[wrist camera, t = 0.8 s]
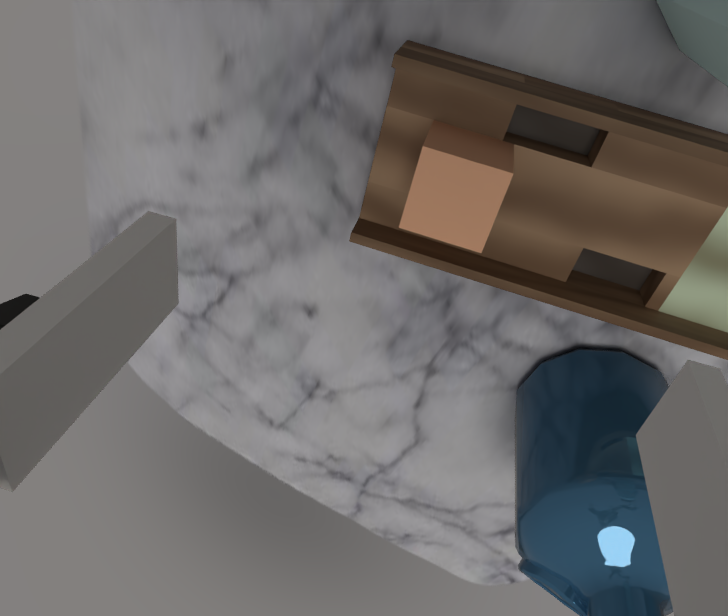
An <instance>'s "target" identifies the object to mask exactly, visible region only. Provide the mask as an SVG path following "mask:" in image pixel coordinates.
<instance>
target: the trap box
mask: <svg viewBox="0 0 728 616" xmlns="http://www.w3.org/2000/svg"><path fill="white" fill-rule="evenodd" d="M392 67H393V68H396V71H395V75H394V79H393V83H392V87H391V91H390V95H389V99H388V103H387V107H386V111H385V115H384V119H383V123H382V127H381V131H380V135H379V140H378V144H377V148H376V152H375V156H374V160H373V164H372V168H371V172H370V176H369V180H368V184H367V188H366V192H365V196H364V200H363V204H362V208H361V213H360V217H359V219H358V221H357V223H356V225H355V227H354V229H353V230H352V232H351V236H350V240H349V241H350V242H353V243H357V244H360V245H363V246H366V247H369V248H372V249H376V250H379V251H382V252H385V253H388V254H392V255H395V256H398V257H401V258H404V259H407V260H411V261H414V262H417V263H420V264H423V265H427V266H430V267H433V268H436V269H439V270H443V271H446V272H449V273H452V274H455V275H458V276H462V277H465V278H468V279H471V280H474V281H478V282H481V283H484V284H487V285H490V286H494V287H497V288H500V289H503V290H506V291H509V292H513V293H516V294H519V295H522V296H525V297H529V298H532V299H535V300H538V301H541V302H545V303H548V304H551V305H554V306H557V307H560V308H564V309H567V310H570V311H573V312H576V313H580V314H583V315H586V316H589V317H592V318H595V319H599V320H602V321H605V322H608V323H611V324H615V325H618V326H621V327H624V328H627V329H631V330H634V331H637V332H640V333H643V334H646V335H650V336H653V337H656V338H659V339H662V340H666V341H669V342H672V343H675V344H678V345H682V346H685V347H688V348H691V349H694V350H697V351H701V352H704V353H707V354H710V355H713V356H717V357H720V358H723V359H726V360H728V134H725V133H721V132H718V131H714V130H711V129H708V128H704V127H701V126H697V125H694V124H691V123H687V122H684V121H680V120H677V119H674V118H670V117H667V116H663V115H660V114H657V113H653V112H650V111H646V110H643V109H640V108H636V107H633V106H629V105H626V104H623V103H619V102H616V101H612V100H609V99H606V98H602V97H599V96H595V95H592V94H589V93H585V92H582V91H578V90H575V89H572V88H568V87H565V86H562V85H558V84H555V83H551V82H548V81H545V80H541V79H538V78H534V77H531V76H528V75H524V74H521V73H517V72H514V71H511V70H507V69H504V68H500V67H497V66H494V65H490V64H487V63H483V62H480V61H477V60H473V59H470V58H466V57H463V56H460V55H456V54H453V53H449V52H446V51H443V50H439V49H436V48H432V47H429V46H426V45H422V44H419V43H416V42H412V41H409V40H407V41H406V42H405V43H404V44H403V45H402V47H401V48H400V49H399V50H398V51H397V52H396V53H395V54H394V58H393V62H392ZM433 120H435V121H439V122H442V123H445V124H449V125H452V126H455V127H459V128H462V129H465V130H469V131H472V132H475V133H479V134H482V135H485V136H488V137H492V138H495V139H498V140H502V141H505V142H508V143H512V144H514V174H513V177H512V179H511V181H510V184H509V186H508V189H507V191H506V194H505V196H504V199H503V201H502V204H501V206H500V209H499V211H498V213H497V216H496V218H495V221H494V223H493V226H492V228H491V231H490V233H489V236H488V238H487V241H486V243H485V246H484V248H483V250H482V253H479V252H475V251H472V250H469V249H466V248H463V247H459V246H456V245H453V244H450V243H446V242H443V241H440V240H437V239H434V238H430V237H427V236H424V235H421V234H418V233H414V232H411V231H408V230H405V229H401V228H399V225H400V221H401V218H402V214H403V211H404V208H405V204H406V201H407V198H408V194H409V191H410V187H411V184H412V181H413V177H414V174H415V171H416V167H417V164H418V160H419V157H420V154H421V150H422V147H423V144H424V142H425V139H426V137H427V135H428V132H429V130H430V127H431V125H432V123H433Z"/></svg>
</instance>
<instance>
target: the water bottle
mask: <svg viewBox="0 0 728 616" xmlns="http://www.w3.org/2000/svg"><path fill="white" fill-rule="evenodd" d="M656 1H657V3H658V5H659V8H660V10H661V12H662V14H663V16H664V18H665V20H666V22H667V24H668V27H669V29H670V31H671V33H672V35H673V37H674V39H675V41H676V44H677V46H678V48H679V50H680V51H681V52H683V53H684V54H685V55H687V56H688V57H689V58H691V59H692V60H693V61H694V62H696V63H697V64H698V65H700V66H701V67H702V68H704V69H705V70H706V71H708V72H709V73H710V74H712V75H713V76H714V77H715V78H717V79H718V80H719V81H721V82H722V83H723V84H725V85H726V86H727V87H728V0H656Z"/></svg>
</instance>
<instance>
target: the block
mask: <svg viewBox="0 0 728 616" xmlns="http://www.w3.org/2000/svg"><path fill="white" fill-rule="evenodd" d="M513 174H514V144H512V143H508V142H505V141H502V140H498V139H495V138H492V137H488V136H485V135H482V134H479V133H475V132H472V131H469V130H465V129H462V128H459V127H455V126H452V125H449V124H445V123H442V122H439V121H435V120H433V123H432V125H431V127H430V130H429V132H428V135H427V137H426V139H425V142H424V144H423V147H422V150H421V154H420V157H419V160H418V164H417V167H416V171H415V174H414V177H413V181H412V184H411V187H410V191H409V194H408V198H407V201H406V204H405V208H404V211H403V214H402V218H401V221H400V225H399V228H401V229H405V230H408V231H411V232H414V233H418V234H421V235H424V236H427V237H430V238H434V239H437V240H440V241H443V242H446V243H450V244H453V245H456V246H459V247H463V248H466V249H469V250H472V251H475V252H479V253H482V250H483V248H484V246H485V243H486V241H487V238H488V236H489V233H490V231H491V228H492V226H493V223H494V221H495V218H496V216H497V213H498V211H499V209H500V206H501V204H502V201H503V199H504V196H505V194H506V191H507V189H508V186H509V184H510V181H511V179H512V177H513Z"/></svg>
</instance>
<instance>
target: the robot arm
mask: <svg viewBox="0 0 728 616" xmlns="http://www.w3.org/2000/svg"><path fill="white" fill-rule="evenodd" d="M178 303H179V302H178V267H177V232H176V219H175V218H171V217H168V216H164V215H160V214H157V213H153V212H150V211H148V212H147V213H146V214H144V215H143V216H142V217H141V218H139V219H138V220H137V221H136V222H134V223H133V224H132V225H131V226H129V227H128V228H127V229H126V230H124V231H123V232H122V233H121V234H119V235H118V236H117V237H116V238H114V239H113V240H112V241H111V242H109V243H108V244H107V245H106V246H104V247H103V248H102V249H101V250H99V251H98V252H97V253H96V254H94V255H93V256H92V257H91V258H89V259H88V260H87V261H86V262H84V263H83V264H82V265H81V266H79V267H78V268H77V269H76V270H74V271H73V272H72V273H71V274H70V275H68V276H67V277H66V278H64V279H63V280H62V281H61V282H59V283H58V284H57V285H56V286H54V287H53V288H52V289H51V290H49V291H48V292H47V293H46V294H44V295H43V296H42V297H41V298H39V297H36V296H32V295H29V294H24V295H22V296H19V297H17V298H14V299H12V300H9V301H7V302H4V303H2V304H0V488H2V489H5V490H8V491H11V492H13V491H14V490H15V489H16V487H17V486H18V485H19V484H20V483H21V482H22V481H23V480H24V478H25V477H26V476H27V475H28V474H29V473H30V471H31V470H32V469H33V468H34V467H35V466H36V465H37V463H38V462H39V461H40V460H41V459H42V458H43V457H44V455H45V454H46V453H47V452H48V451H49V450H50V449H51V448H52V446H53V445H54V444H55V443H56V442H57V441H58V440H59V439H60V437H61V436H62V435H63V434H64V433H65V432H66V431H67V430H68V428H69V427H70V426H71V425H72V424H73V423H74V422H75V420H76V419H77V418H78V417H79V416H80V414H81V413H82V412H83V411H84V410H85V409H86V408H87V407H88V406H89V405H90V403H91V402H92V401H93V400H94V399H95V398H96V396H97V395H98V394H99V393H100V392H101V391H102V390H103V389H104V387H105V386H106V385H107V384H108V383H109V382H110V381H111V379H112V378H113V377H114V376H115V375H116V374H117V373H118V372H119V370H120V369H121V368H122V367H123V366H124V365H125V364H126V362H127V361H128V360H129V359H130V358H131V357H132V356H133V355H134V353H135V352H136V351H137V350H138V349H139V348H140V347H141V345H142V344H143V343H144V342H145V341H146V340H147V339H148V337H149V336H150V335H151V334H152V333H153V332H154V331H155V330H156V328H157V327H158V326H159V325H160V324H161V323H162V322H163V320H164V319H165V318H166V317H167V316H168V315H169V314H170V313H171V311H172V310H173V309H174V308H175V307H176V306H177V305H178ZM636 439H637V444H638V448H639V453H640V458H641V462H642V467H643V472H644V476H645V481H646V486H647V491H648V495H649V500H650V505H651V509H652V514H653V519H654V523H655V528H656V533H657V537H658V542H659V547H660V551H661V556H662V561H663V565H664V570H665V575H666V579H667V584H668V589H669V593H670V598H671V603H672V607H673V612H674V616H728V386H727V383H726V381H725V379H724V376H723V374H722V372H721V369H720V368H716V367H712V366H709V365H705V364H701V363H698V362H694V361H691V360H687V362H686V363H685V365H684V366H683V368H682V369H681V370H680V372H679V373H678V375H677V376H676V378H675V379H674V381H673V382H672V383H671V385H670V386H669V388H668V389H667V391H666V392H665V394H664V395H663V396H662V398H661V399H660V401H659V402H658V404H657V405H656V406H655V408H654V409H653V411H652V412H651V414H650V415H649V417H648V418H647V419H646V421H645V422H644V424H643V425H642V427H641V428H640V430H639V431H638V432H637V434H636Z"/></svg>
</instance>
